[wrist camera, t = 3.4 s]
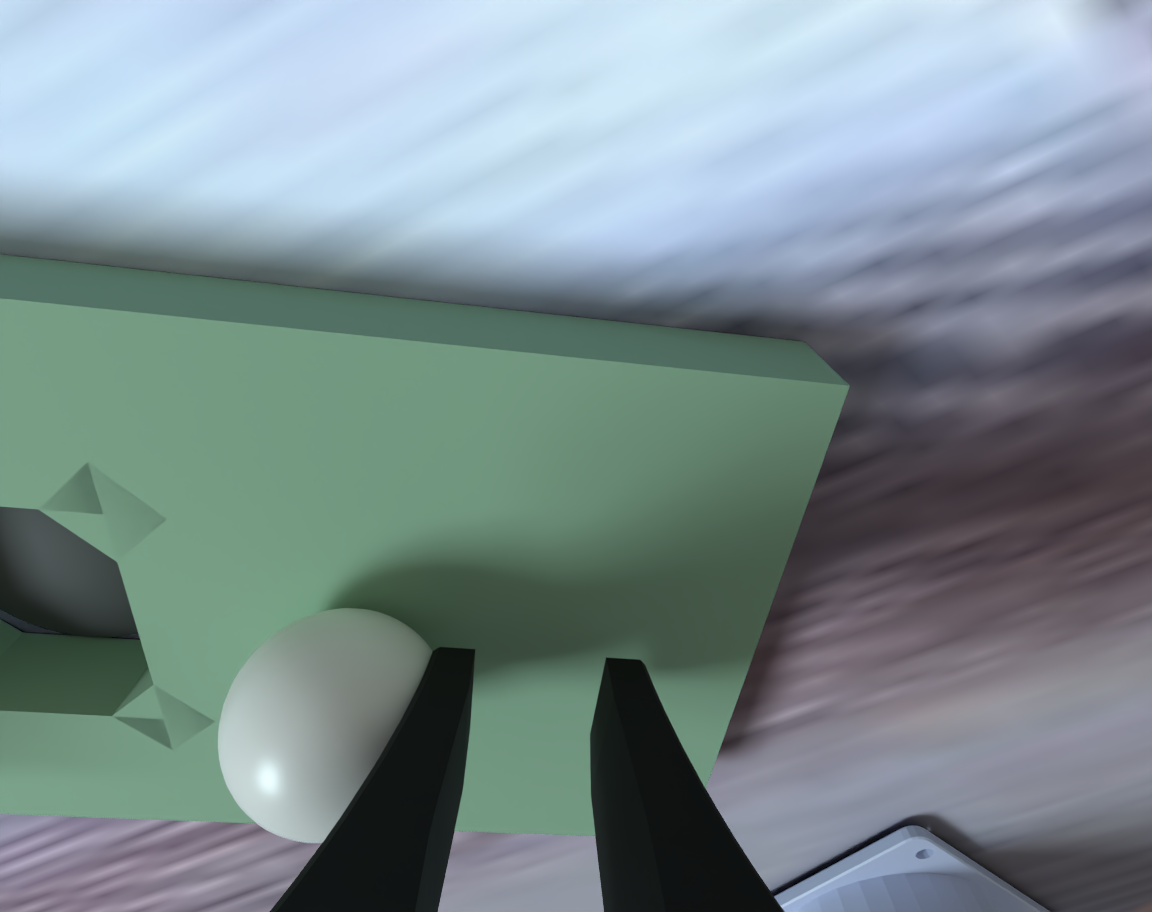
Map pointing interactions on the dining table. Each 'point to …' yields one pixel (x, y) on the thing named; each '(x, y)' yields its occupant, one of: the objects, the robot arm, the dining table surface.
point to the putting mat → (375, 520)
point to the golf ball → (316, 716)
